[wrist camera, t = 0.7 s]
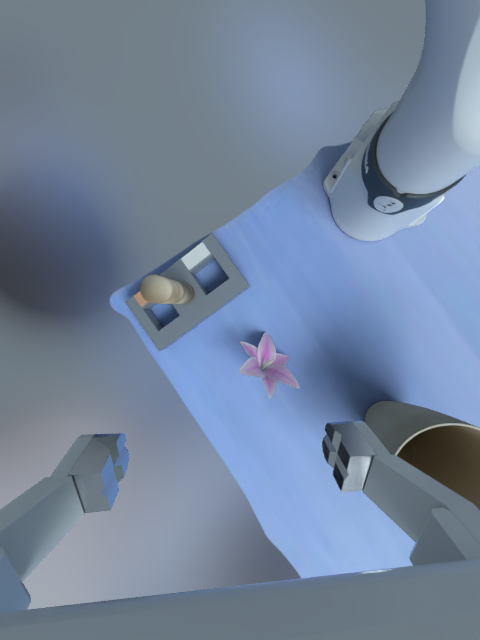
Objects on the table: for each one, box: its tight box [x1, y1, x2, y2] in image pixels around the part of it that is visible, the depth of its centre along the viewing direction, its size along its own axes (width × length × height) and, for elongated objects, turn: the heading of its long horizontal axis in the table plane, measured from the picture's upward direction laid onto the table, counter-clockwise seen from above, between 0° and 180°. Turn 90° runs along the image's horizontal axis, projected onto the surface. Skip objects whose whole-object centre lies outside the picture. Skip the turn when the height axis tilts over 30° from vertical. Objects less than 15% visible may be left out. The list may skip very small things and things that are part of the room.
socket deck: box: [125, 234, 250, 351], centre depth 45 cm, size 22×12×3 cm, turn 125°
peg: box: [140, 275, 195, 304], centre depth 38 cm, size 4×4×12 cm
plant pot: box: [365, 401, 480, 510], centre depth 35 cm, size 15×15×16 cm
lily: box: [239, 332, 299, 399], centre depth 42 cm, size 12×12×10 cm
